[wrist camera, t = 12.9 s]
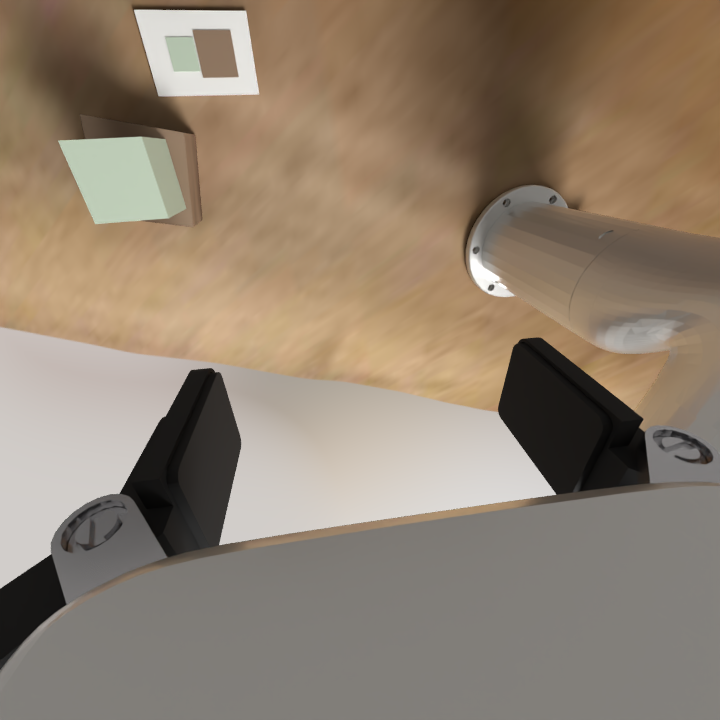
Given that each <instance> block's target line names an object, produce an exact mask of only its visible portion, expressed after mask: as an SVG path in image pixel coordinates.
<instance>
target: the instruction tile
mask: <svg viewBox="0 0 720 720" xmlns="http://www.w3.org/2000/svg"><path fill="white" fill-rule="evenodd" d="M134 12H135V16H136V19H137V23H138V26H139V30H140V33H141V37H142V40H143V43H144V47H145V50H146V54H147V57H148V61H149V64H150V68H151V71H152V75H153V78H154V82H155V85H156V89H157V92H158V96H159V97H170V96H215V95H259V90H258V84H257V77H256V71H255V65H254V58H253V52H252V46H251V39H250V33H249V27H248V20H247V14H246V11H212V10H134Z"/></svg>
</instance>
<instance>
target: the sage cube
mask: <svg viewBox="0 0 720 720" xmlns="http://www.w3.org/2000/svg"><path fill="white" fill-rule="evenodd" d="M58 142H59V144H60V146H61V149H62V151H63V153H64V155H65V157H66V160H67V162H68V164H69V166H70V169H71V171H72V173H73V175H74V178H75V180H76V182H77V184H78V186H79V189H80V191H81V193H82V195H83V198H84V200H85V202H86V204H87V206H88V209H89V211H90V213H91V215H92V218H93V220H94V222H95V224H102V223H115V222H128V221H141V220H154V219H167V218H170V217H172V216H174V215H176V214H178V213H179V212H181V211H183V210H185V209H186V206H185V202H184V199H183V196H182V192H181V189H180V186H179V182H178V179H177V176H176V172H175V169H174V166H173V163H172V159H171V156H170V153H169V149H168V146H167V143H166V139H159V138H150V137H124V138H103V139H82V140H61V141H58Z"/></svg>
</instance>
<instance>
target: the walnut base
mask: <svg viewBox="0 0 720 720" xmlns="http://www.w3.org/2000/svg"><path fill="white" fill-rule="evenodd" d="M80 118H81V123H82V127H83V132H84V136H85V139H103V138H124V137H150V138H159V139H166V143H167V146H168V149H169V153H170V156H171V159H172V163H173V166H174V169H175V172H176V176H177V179H178V182H179V186H180V189H181V192H182V196H183V199H184V202H185V206H186V209H185V210H183V211H181V212H179V213H178V214H176V215H174V216H172V217H170V218H167V219H154V220H141V221H147V222H155V223H164V224H172V225H180V226H189V227H194V226H195V225H196V224H198V223H199V222H200V221H202V209H201V197H200V185H199V173H198V161H197V149H196V137H195V135H193V134H188V133H183V132H177V131H171V130H166V129H160V128H155V127H149V126H143V125H138V124H132V123H127V122H121V121H115V120H110V119H104V118H99V117H93V116H87V115H82V114H80Z"/></svg>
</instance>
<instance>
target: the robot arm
mask: <svg viewBox="0 0 720 720" xmlns="http://www.w3.org/2000/svg"><path fill="white" fill-rule="evenodd" d="M503 202H504V203H503ZM473 248H474V249H473ZM466 266H467V271H468V273H469V275H470V277H471V279H472V281H473V282H474V283H475V285H476V286H478V287H479V288H480V289H481V290H483V291H484V292H486V293H488V294H490V295H493V296H496V297H511V296H517V297H519V298H520V299H522V300H523V301H525V302H527V303H528V304H530V305H531V306H533V307H534V308H536V309H537V310H539V311H541V312H542V313H544V314H545V315H547V316H548V317H550V318H551V319H553V320H554V321H556V322H558V323H559V324H561V325H562V326H564V327H565V328H567V329H568V330H570V331H572V332H573V333H575V334H577V335H578V336H580V337H581V338H583V339H584V340H586V341H588V342H589V343H591V344H593V345H595V346H597V347H599V348H601V349H604V350H607V351H610V352H616V353H622V354H642V353H653V352H660V351H667V350H670V355H669V357H668V360H667V361H666V363H665V365H664V366H663V368H662V369H661V371H660V372H659V374H658V377H657V379H656V380H655V382H654V383H653V384H652V386H651V387H650V389H649V390H648V391H647V393H646V394H645V396H644V397H643V399H642V400H641V401H640V403H639V404H638V406H637V407H636V409H635V410H634V411H633V410H632V409H631V408H629V407H628V406H627V405H626V404H624V403H623V402H622V401H621V400H619V399H618V398H617V397H615V396H614V395H613V394H612V393H610V392H609V391H608V390H607V389H605V388H604V387H603V386H602V385H600V384H599V383H598V382H596V381H595V380H594V379H593V378H591V377H590V376H589V375H588V374H586V373H585V372H584V371H583V370H581V369H580V368H579V367H577V366H576V365H575V364H574V363H572V362H571V361H570V360H569V359H567V358H566V357H565V356H564V355H562V354H561V353H560V352H558V351H557V350H556V349H555V348H553V347H552V346H551V345H550V344H548V343H547V342H546V341H545V340H543V339H542V338H527V339H521V340H520V341H519V342H518V344H516V345H515V346H514V347H513V351H512V355H511V359H510V363H509V367H508V371H507V374H506V378H505V382H504V386H503V390H502V394H501V398H500V402H499V406H498V412H499V415H500V417H501V419H502V420H503V422H504V423H505V424H506V426H507V427H508V429H509V430H510V431H511V433H512V434H513V435H514V437H515V438H516V439H517V441H518V442H519V444H520V445H521V446H522V448H523V449H524V450H525V452H526V453H527V455H528V456H529V457H530V459H531V460H532V461H533V463H534V464H535V465H536V467H537V468H538V470H539V471H540V472H541V474H542V475H543V476H544V478H545V479H546V481H547V482H548V483H549V485H550V486H551V487H552V489H553V490H554V491H555V493H556V494H557V495H552V496H545V497H538V498H530V499H524V500H516V501H509V502H502V503H495V504H488V505H481V506H474V507H468V508H460V509H453V510H446V511H439V512H432V513H425V514H418V515H412V516H404V517H398V518H391V519H384V520H377V521H371V522H364V523H357V524H351V525H344V526H337V527H331V528H324V529H317V530H311V531H304V532H297V533H291V534H285V535H278V536H272V537H266V538H260V539H255V540H249V541H242V542H236V543H230V544H225V545H219V542H220V537H221V533H222V529H223V524H224V519H225V515H226V511H227V507H228V502H229V498H230V493H231V489H232V484H233V480H234V476H235V471H236V467H237V462H238V458H239V454H240V449H241V438H240V434H239V431H238V427H237V424H236V421H235V418H234V414H233V411H232V408H231V405H230V401H229V398H228V395H227V391H226V388H225V385H224V382H223V378H222V376H221V374H220V373H219V372H216V373H215V371H214V370H213V369H212V368H209V369H198V370H191V371H190V373H189V374H188V376H187V378H186V380H185V382H184V384H183V385H182V387H181V389H180V391H179V393H178V395H177V397H176V398H175V400H174V402H173V404H172V406H171V408H170V410H169V411H168V413H167V415H166V417H163V418H162V419H161V420H160V422H159V423H158V425H157V427H156V429H155V431H154V433H153V434H152V436H151V438H150V440H149V441H148V443H147V445H146V447H145V449H144V450H143V452H142V454H141V456H140V458H139V460H138V461H137V463H136V465H135V467H134V469H133V470H132V472H131V474H130V476H129V478H128V479H127V481H126V483H125V485H124V487H123V489H122V490H121V492H120V494H110V495H107V496H103V497H100V498H97V499H95V500H93V501H91V502H89V503H87V504H85V505H83V506H82V507H81V508H79V509H78V510H76V511H75V512H73V513H72V514H71V515H70V516H69V517H68V518H67V519H66V520H65V521H64V522H63V523H62V524H61V526H60V527H59V528H58V530H57V531H56V532H55V535H54V537H53V539H52V542H51V555H49V556H48V557H47V558H45V559H44V560H42V561H41V562H39V563H38V564H36V565H35V566H33V567H32V568H30V569H29V570H27V571H26V572H24V573H23V574H21V575H20V576H18V577H17V578H16V579H14V580H13V581H11V582H10V583H8V584H7V585H5V586H4V587H2V588H1V589H0V720H720V238H716V237H710V236H704V235H698V234H692V233H687V232H682V231H677V230H672V229H668V228H663V227H658V226H653V225H648V224H643V223H638V222H633V221H628V220H624V219H619V218H614V217H609V216H604V215H599V214H594V213H590V212H585V211H580V210H575V209H570V208H568V206H567V204H566V202H565V200H564V199H563V198H562V197H561V195H560V194H559V193H557V192H556V191H554V190H553V189H551V188H548V187H545V186H540V185H523V186H519V187H516V188H513V189H511V190H509V191H507V192H505V193H503V194H501V195H500V196H499V197H497V198H496V199H494V200H493V201H492V202H491V203H490V204H489V205H488V206H487V207H486V208H485V209H484V210H483V212H482V213H481V214H480V216H479V217H478V219H477V220H476V222H475V224H474V226H473V228H472V230H471V232H470V235H469V238H468V241H467V247H466Z"/></svg>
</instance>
